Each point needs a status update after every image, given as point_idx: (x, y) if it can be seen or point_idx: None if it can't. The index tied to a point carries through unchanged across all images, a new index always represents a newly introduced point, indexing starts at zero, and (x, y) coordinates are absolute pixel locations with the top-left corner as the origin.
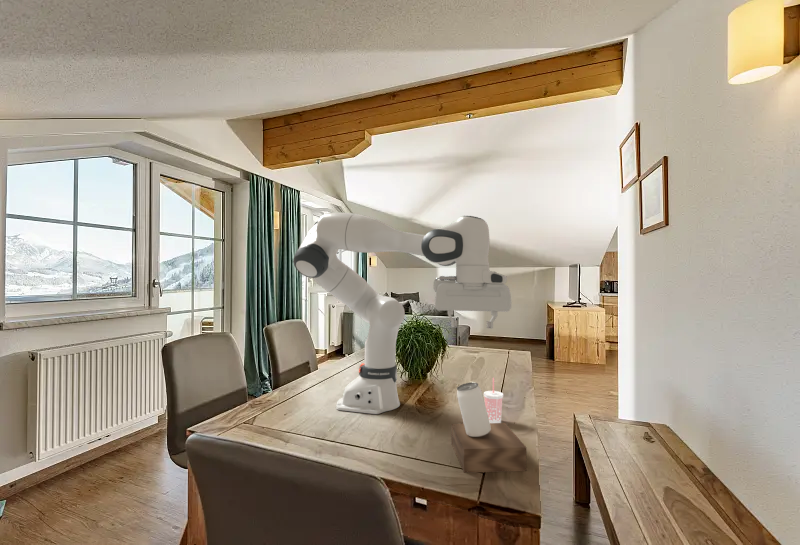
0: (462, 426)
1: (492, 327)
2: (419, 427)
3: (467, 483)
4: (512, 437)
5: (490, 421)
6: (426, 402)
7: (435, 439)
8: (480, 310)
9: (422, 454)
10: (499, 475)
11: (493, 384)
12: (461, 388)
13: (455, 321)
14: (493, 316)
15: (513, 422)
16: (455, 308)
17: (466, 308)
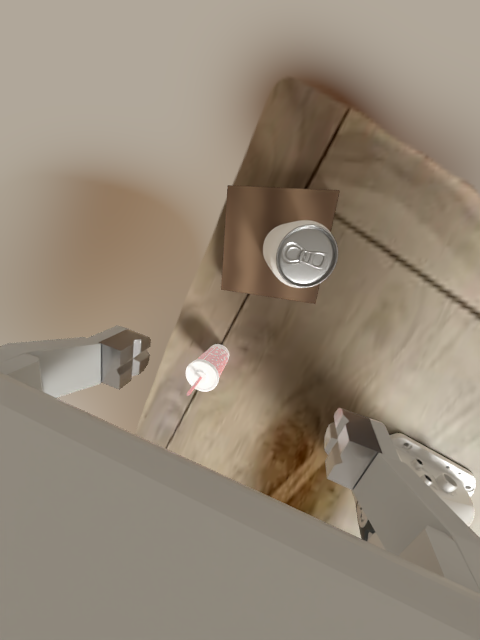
0: (299, 289)
1: (120, 326)
2: (342, 365)
3: (344, 162)
4: (233, 228)
5: (225, 349)
6: (292, 448)
7: (332, 318)
8: (90, 416)
9: (378, 270)
10: (282, 183)
11: (194, 385)
12: (323, 261)
13: (364, 445)
14: (43, 362)
15: (192, 344)
16: (467, 619)
17: (259, 524)
